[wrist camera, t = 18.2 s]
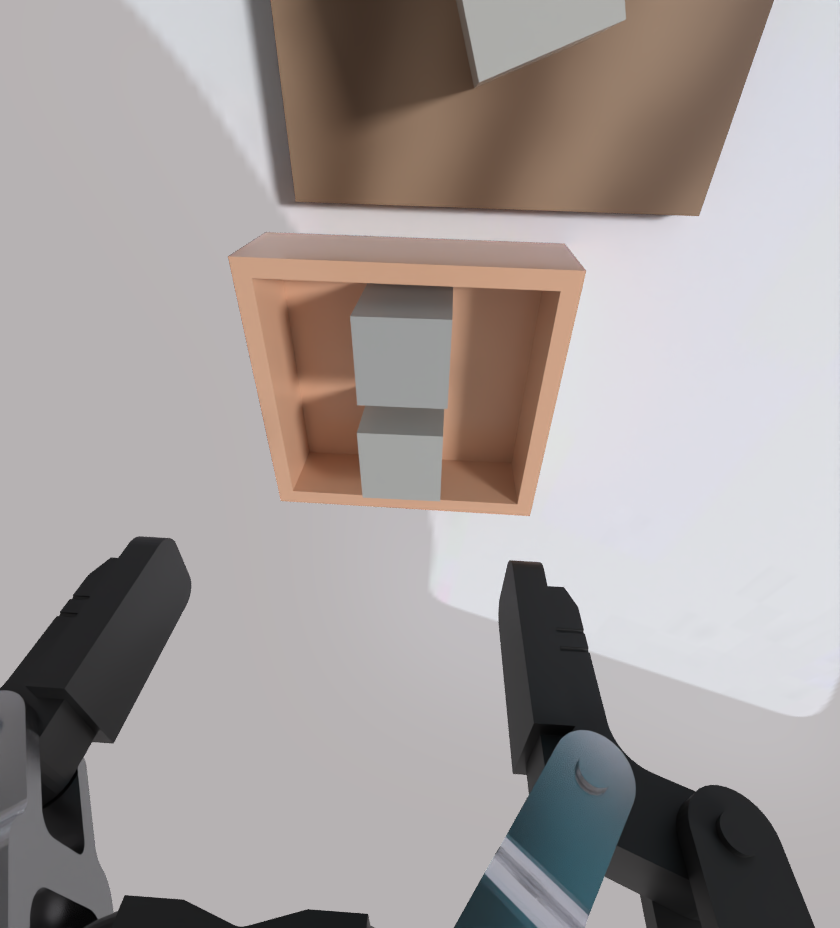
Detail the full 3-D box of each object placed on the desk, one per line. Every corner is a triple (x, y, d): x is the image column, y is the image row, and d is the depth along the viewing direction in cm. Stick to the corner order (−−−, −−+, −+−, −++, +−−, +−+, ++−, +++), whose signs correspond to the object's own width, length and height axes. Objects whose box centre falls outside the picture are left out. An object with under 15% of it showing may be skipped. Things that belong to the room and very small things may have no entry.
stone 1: (369, 279, 22) (350, 316, 18) (453, 281, 22) (452, 320, 18) (373, 357, 25) (357, 405, 21) (449, 360, 24) (447, 409, 20)
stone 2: (372, 382, 25) (356, 433, 21) (445, 385, 25) (443, 436, 21) (376, 442, 28) (362, 497, 24) (442, 445, 28) (440, 501, 24)
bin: (302, 453, 30) (280, 500, 26) (265, 232, 22) (227, 256, 18) (521, 466, 29) (529, 516, 26) (564, 243, 21) (586, 270, 18)
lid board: (303, 197, 21) (295, 201, 20) (261, -161, 15) (247, -180, 14) (687, 210, 20) (698, 216, 19) (810, -158, 14) (835, -177, 13)
